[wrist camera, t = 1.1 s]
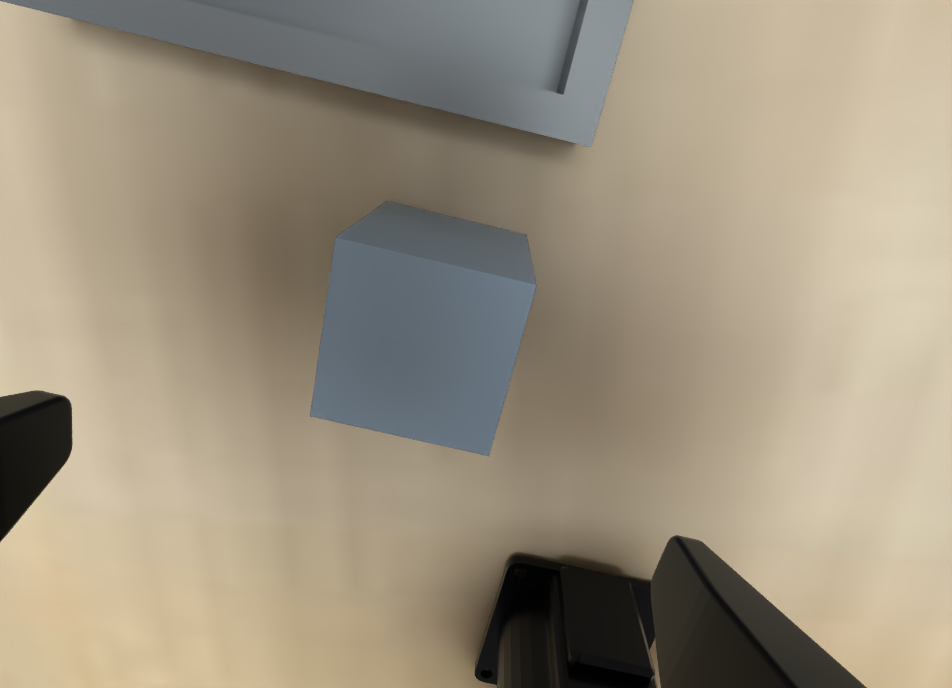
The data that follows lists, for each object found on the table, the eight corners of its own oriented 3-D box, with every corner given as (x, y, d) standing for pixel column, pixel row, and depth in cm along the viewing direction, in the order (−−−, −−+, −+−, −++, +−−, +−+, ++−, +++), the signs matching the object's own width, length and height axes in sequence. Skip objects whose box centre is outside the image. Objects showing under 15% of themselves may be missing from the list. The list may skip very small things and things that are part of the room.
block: (493, 362, 20) (488, 456, 14) (364, 332, 20) (309, 416, 14) (527, 234, 18) (536, 284, 13) (387, 201, 18) (335, 237, 13)
